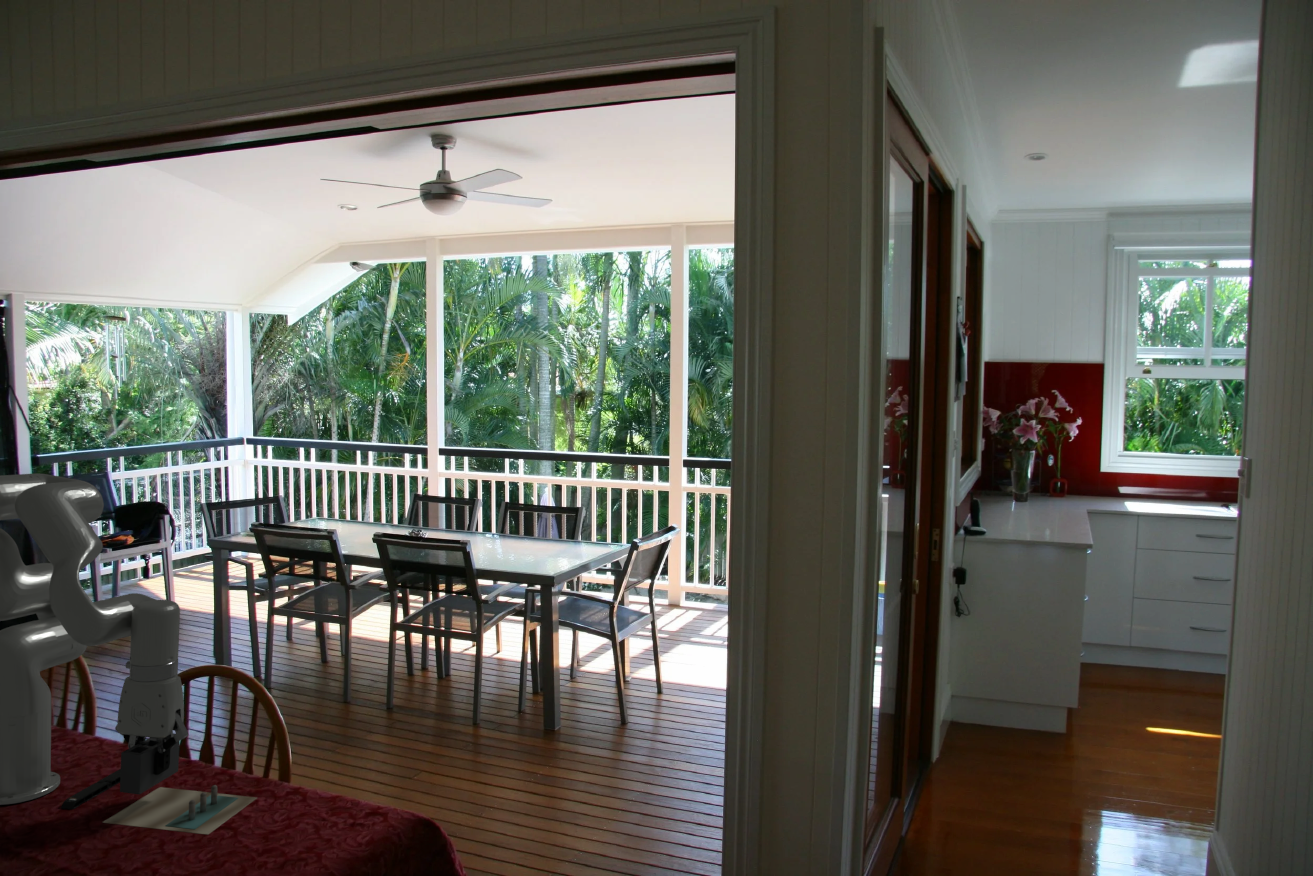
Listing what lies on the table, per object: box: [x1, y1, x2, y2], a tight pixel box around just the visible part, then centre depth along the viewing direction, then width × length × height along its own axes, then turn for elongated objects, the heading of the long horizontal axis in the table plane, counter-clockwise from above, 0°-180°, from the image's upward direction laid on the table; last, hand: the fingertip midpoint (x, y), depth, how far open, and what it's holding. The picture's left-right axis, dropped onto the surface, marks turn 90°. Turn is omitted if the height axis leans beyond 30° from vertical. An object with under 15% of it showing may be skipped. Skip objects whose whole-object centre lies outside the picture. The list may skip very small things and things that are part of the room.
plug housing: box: [119, 732, 180, 795], centre depth 154 cm, size 10×4×7 cm, turn 172°
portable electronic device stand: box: [61, 768, 121, 810], centre depth 161 cm, size 18×3×3 cm, turn 173°
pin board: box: [102, 784, 258, 835], centre depth 153 cm, size 20×14×5 cm
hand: (150, 769), depth 154 cm, fingers closed on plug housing, 3 cm apart
